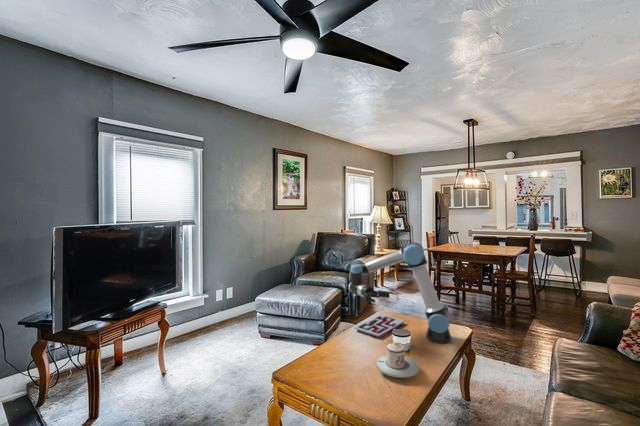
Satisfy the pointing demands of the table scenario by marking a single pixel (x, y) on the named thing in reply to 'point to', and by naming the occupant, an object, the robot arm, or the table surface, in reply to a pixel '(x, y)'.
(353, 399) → the table surface
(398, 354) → the teacup with lid
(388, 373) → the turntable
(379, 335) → the maze game
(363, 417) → the table surface
